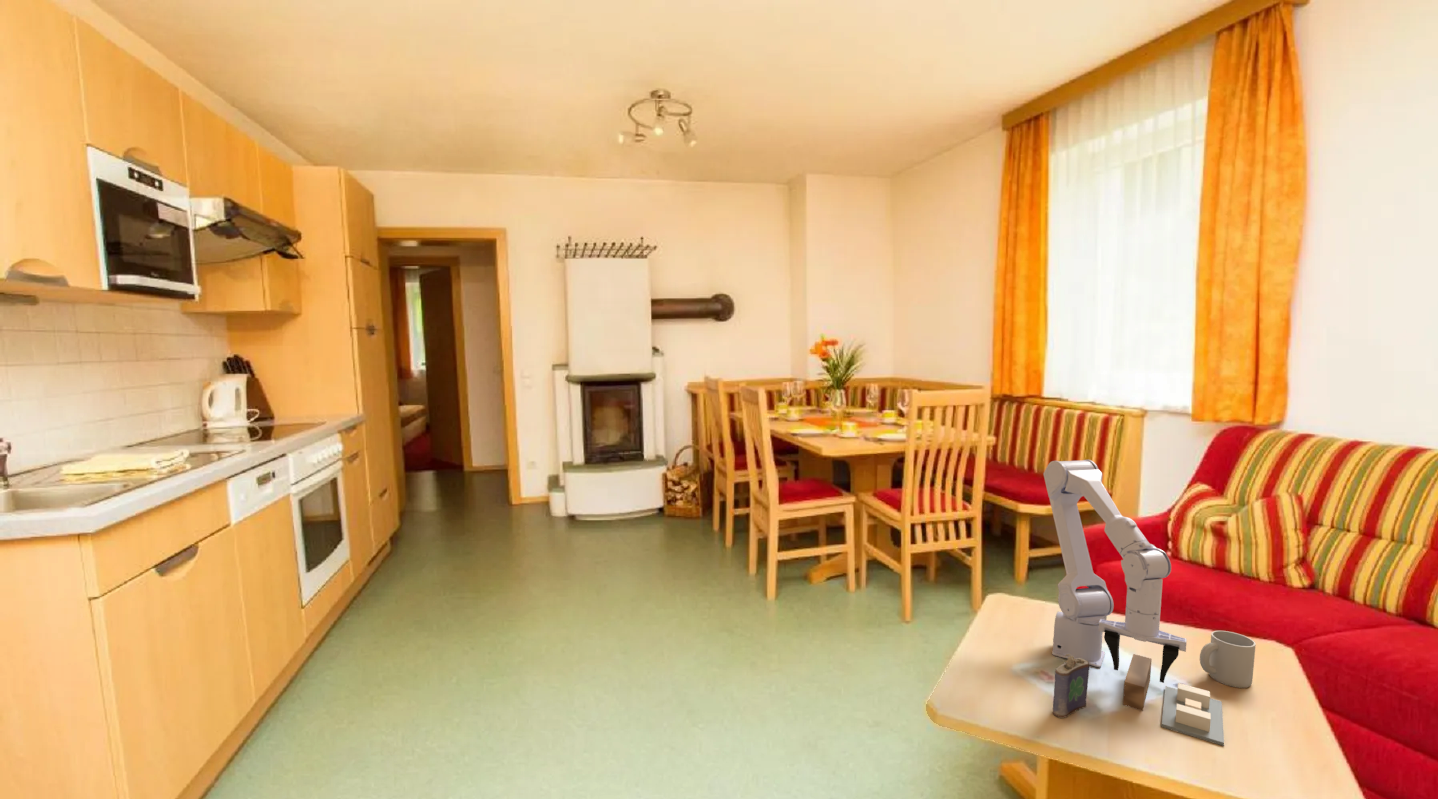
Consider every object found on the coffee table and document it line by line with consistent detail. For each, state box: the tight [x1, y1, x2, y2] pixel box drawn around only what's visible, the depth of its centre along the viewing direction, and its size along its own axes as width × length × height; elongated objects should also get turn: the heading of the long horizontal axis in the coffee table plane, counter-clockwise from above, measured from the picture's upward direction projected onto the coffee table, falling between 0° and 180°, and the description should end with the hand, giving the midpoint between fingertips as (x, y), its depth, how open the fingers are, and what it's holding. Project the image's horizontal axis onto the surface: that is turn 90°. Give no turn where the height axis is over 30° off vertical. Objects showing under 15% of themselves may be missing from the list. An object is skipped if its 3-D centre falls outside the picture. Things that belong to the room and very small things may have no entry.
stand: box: [1161, 682, 1225, 746], centre depth 120 cm, size 9×16×3 cm, turn 143°
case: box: [1122, 653, 1152, 712], centre depth 128 cm, size 3×14×5 cm, turn 141°
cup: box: [1199, 630, 1257, 689], centre depth 132 cm, size 7×10×9 cm
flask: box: [1052, 654, 1090, 719], centre depth 121 cm, size 9×3×11 cm, turn 121°
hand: (1138, 674), depth 127 cm, fingers open, 7 cm apart
